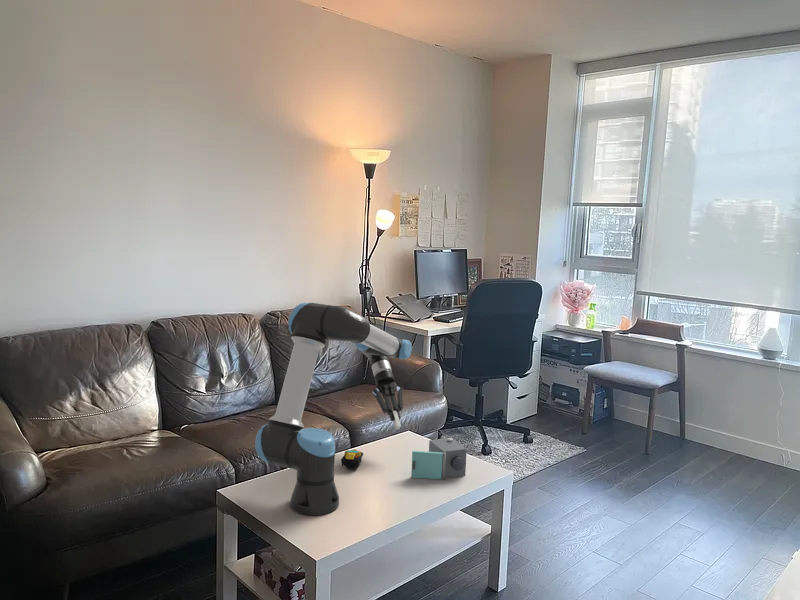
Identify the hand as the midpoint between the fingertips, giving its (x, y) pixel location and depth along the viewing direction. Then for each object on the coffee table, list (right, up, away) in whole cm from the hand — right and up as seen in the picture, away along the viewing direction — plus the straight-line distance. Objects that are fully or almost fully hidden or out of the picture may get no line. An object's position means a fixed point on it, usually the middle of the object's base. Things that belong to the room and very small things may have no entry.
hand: (398, 427), depth 230 cm
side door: (+11, -15, -16) cm, 24 cm away
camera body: (+18, -14, -8) cm, 24 cm away
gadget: (-17, -13, -5) cm, 22 cm away
